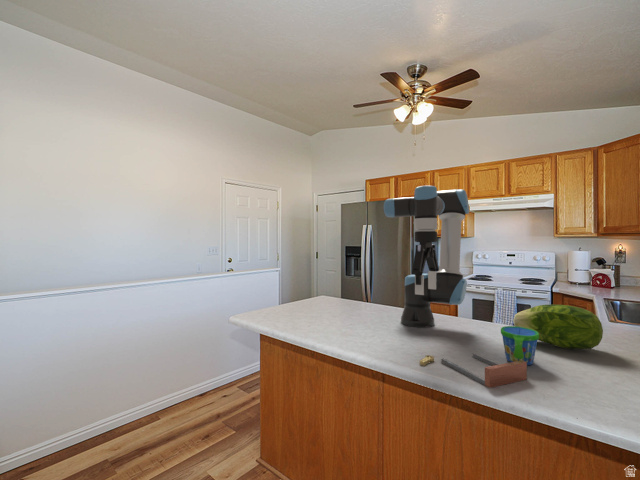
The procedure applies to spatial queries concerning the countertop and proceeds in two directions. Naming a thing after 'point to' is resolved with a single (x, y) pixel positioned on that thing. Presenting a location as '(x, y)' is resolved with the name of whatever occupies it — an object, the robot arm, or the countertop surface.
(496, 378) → the bracket
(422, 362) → the brass key
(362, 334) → the countertop surface
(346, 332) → the countertop surface
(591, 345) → the lettuce
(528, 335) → the snack cup
